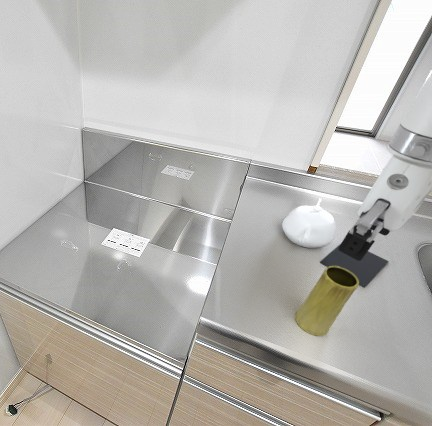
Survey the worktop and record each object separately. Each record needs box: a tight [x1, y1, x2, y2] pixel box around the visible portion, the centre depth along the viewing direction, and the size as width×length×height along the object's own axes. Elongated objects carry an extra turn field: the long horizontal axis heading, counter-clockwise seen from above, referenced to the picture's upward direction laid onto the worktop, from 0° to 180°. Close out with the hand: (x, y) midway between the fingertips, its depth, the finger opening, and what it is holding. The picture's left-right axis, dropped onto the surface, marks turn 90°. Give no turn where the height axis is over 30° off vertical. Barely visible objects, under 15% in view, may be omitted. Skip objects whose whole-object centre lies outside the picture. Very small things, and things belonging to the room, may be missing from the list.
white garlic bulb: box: [281, 197, 336, 249], centre depth 80 cm, size 20×12×10 cm, turn 142°
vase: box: [294, 266, 360, 337], centre depth 57 cm, size 6×6×14 cm
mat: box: [319, 243, 389, 289], centre depth 74 cm, size 10×14×1 cm
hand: (363, 242), depth 48 cm, fingers open, 9 cm apart
